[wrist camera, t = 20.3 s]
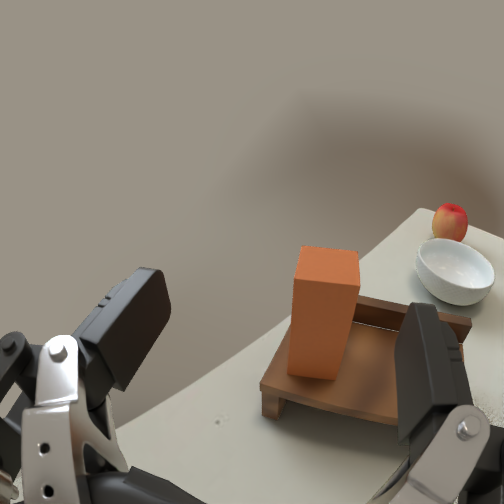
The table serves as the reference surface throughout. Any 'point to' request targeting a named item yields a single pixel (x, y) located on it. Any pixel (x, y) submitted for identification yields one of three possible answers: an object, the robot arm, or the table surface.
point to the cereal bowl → (454, 271)
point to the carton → (322, 310)
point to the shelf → (352, 367)
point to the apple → (450, 222)
